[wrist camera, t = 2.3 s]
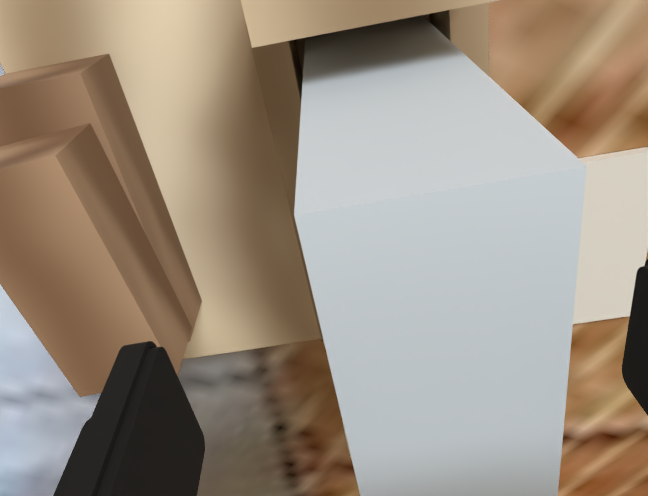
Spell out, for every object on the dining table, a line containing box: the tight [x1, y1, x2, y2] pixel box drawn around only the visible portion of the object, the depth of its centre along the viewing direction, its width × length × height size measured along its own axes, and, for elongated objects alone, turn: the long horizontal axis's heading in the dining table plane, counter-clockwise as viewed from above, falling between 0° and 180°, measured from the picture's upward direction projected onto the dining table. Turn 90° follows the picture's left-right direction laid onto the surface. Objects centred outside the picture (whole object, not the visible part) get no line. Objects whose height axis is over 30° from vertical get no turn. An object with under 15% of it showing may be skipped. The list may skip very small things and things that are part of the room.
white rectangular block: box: [294, 15, 587, 496], centre depth 14 cm, size 4×9×12 cm, turn 10°
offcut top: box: [0, 123, 192, 397], centre depth 17 cm, size 4×8×2 cm, turn 14°
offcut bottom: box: [0, 54, 202, 342], centre depth 19 cm, size 4×10×2 cm, turn 10°
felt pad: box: [573, 147, 648, 324], centre depth 22 cm, size 7×8×1 cm
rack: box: [0, 0, 498, 456], centre depth 17 cm, size 15×16×8 cm
